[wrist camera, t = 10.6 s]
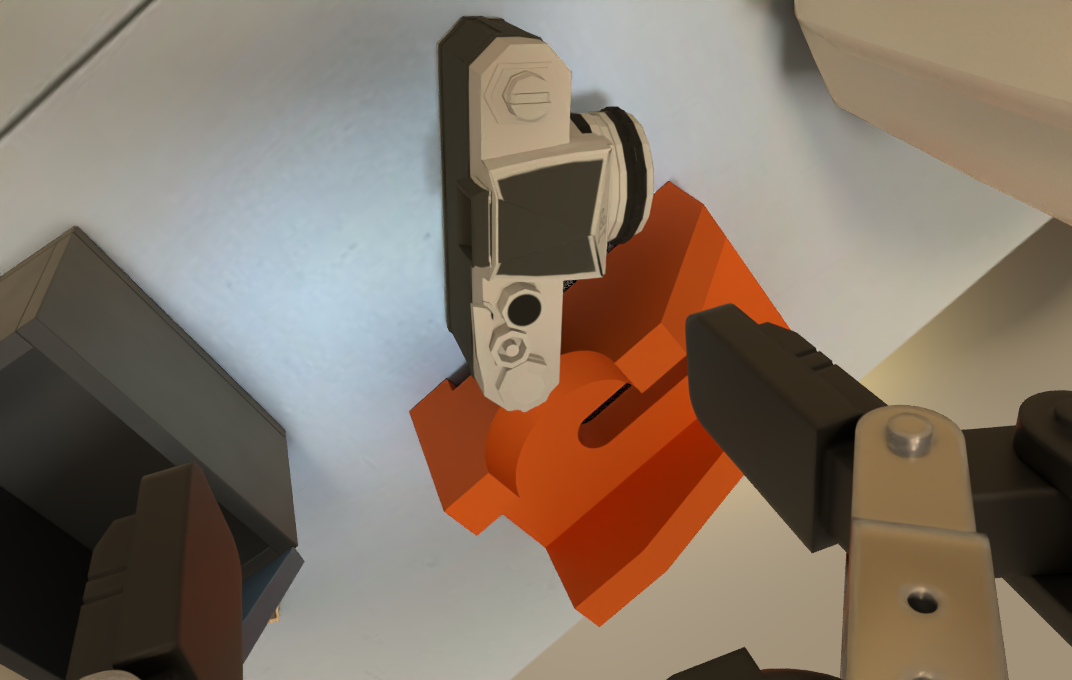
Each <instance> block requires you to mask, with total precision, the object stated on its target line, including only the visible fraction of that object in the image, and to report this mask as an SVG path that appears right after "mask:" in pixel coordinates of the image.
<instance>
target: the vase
mask: <svg viewBox="0 0 1072 680" xmlns="http://www.w3.org/2000/svg"><path fill="white" fill-rule="evenodd" d="M794 2H795V7H794V9H795V16H796V17H797V19H798V21H799V24H800V27H801V29H802V32H803V34H804V36H805V39H806V41H807V43H808V46H809V48H810V50H811V53H812V55H813V58H814V60H815V62H816V64H817V66H818V69H819V71H820V73H821V75H822V78H823V80H824V82H825V84H826V87H827V89H828V91H829V93H830V95H831V97H832V99H833V101H834V103H835V104H837V105H838V106H839V107H841V108H843V109H844V110H846V111H848V112H850V113H852V114H854V115H856V116H858V117H859V118H861V119H863V120H865V121H867V122H869V123H871V124H873V125H874V126H876V127H878V128H880V129H882V130H884V131H886V132H888V133H889V134H891V135H893V136H895V137H897V138H899V139H901V140H903V141H905V142H907V143H909V144H911V145H912V146H914V147H916V148H918V149H920V150H922V151H924V152H926V153H927V154H929V155H931V156H933V157H935V158H937V159H939V160H941V161H942V162H944V163H946V164H948V165H950V166H952V167H954V168H956V169H957V170H959V171H961V172H963V173H965V174H967V175H969V176H971V177H973V178H975V179H977V180H979V181H981V182H983V183H985V184H987V185H989V186H991V187H993V188H995V189H997V190H999V191H1001V192H1003V193H1005V194H1007V195H1009V196H1012V197H1014V198H1016V199H1018V200H1020V201H1022V202H1024V203H1026V204H1028V205H1030V206H1032V207H1034V208H1036V209H1038V210H1040V211H1042V212H1044V213H1046V214H1048V215H1050V216H1053V217H1055V218H1057V219H1059V220H1061V221H1063V222H1065V223H1067V224H1069V225H1071V226H1072V0H794Z"/></svg>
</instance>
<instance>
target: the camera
mask: <svg viewBox="0 0 1072 680" xmlns="http://www.w3.org/2000/svg"><path fill="white" fill-rule="evenodd" d="M437 53H438V83H439V112H440V141H441V171H442V200H443V229H444V259H445V288H446V317H447V327H448V330H449V331H450V332H451V333H452V334H453V335H454V337H455V339H456V341H457V343H458V345H459V347H460V349H461V351H462V353H463V355H464V357H465V359H466V361H467V363H468V365H469V367H470V373H471V375H472V377H473V378H474V379H476V381H477V383H478V385H479V386H480V388H481V390H482V392H483V394H484V396H485V397H487V398H488V399H490V400H491V401H493V402H495V403H496V404H498V405H499V406H501V407H503V408H504V409H506V410H507V411H513V410H521V411H522V412H527V411H528V410H530V409H532V408H534V407H536V406H539V405H540V404H541V403H543V402H545V401H546V400H547V398H548V396H549V394H550V393H551V391H552V390H553V389H554V388H555V387H556V386H557V385H558V384H559V373H560V349H561V324H562V300H563V280H577V279H589V278H599V277H603V274H605V268H606V253H607V243H610V244H612V245H616V244H625V243H626V242H628V241H629V240H630V239H631V238H632V237H633V236H634V235H636V234H637V233H639V232H641V231H642V229H643V227H644V225H645V224H646V222H647V220H648V218H649V215H650V210H651V204H652V199H653V172H654V169H653V163H652V157H651V151H650V146H649V142H648V140H647V137H646V135H645V132H644V130H643V127H642V125H641V124H640V123H639V122H638V121H637V120H636V119H635V117H634V116H633V115H631V114H629V113H627V112H625V111H624V110H621V109H620V108H619V107H606V108H604V109H601V111H596V112H588V113H570V104H571V79H572V72H571V71H570V70H569V68H568V67H567V66H566V65H565V64H564V63H563V61H562V60H561V59H560V58H559V57H558V55H557V54H556V53H555V52H554V51H553V50H552V48H551V47H550V46H549V45H548V44H547V43H545V42H544V41H543V40H542V39H541V37H538V36H535V35H533V34H530V33H528V32H526V31H524V30H522V29H520V28H518V27H516V26H513V25H511V24H509V23H507V22H505V21H504V19H502V18H498V17H483V16H465V17H462V18H460V19H459V20H458V22H457V23H456V24H455V25H454V26H453V27H452V28H451V29H450V30H449V31H448V32H447V33H446V34H445V35H444V36H443V38H442V39H441V40H440V41H439V42H438V43H437Z"/></svg>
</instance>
